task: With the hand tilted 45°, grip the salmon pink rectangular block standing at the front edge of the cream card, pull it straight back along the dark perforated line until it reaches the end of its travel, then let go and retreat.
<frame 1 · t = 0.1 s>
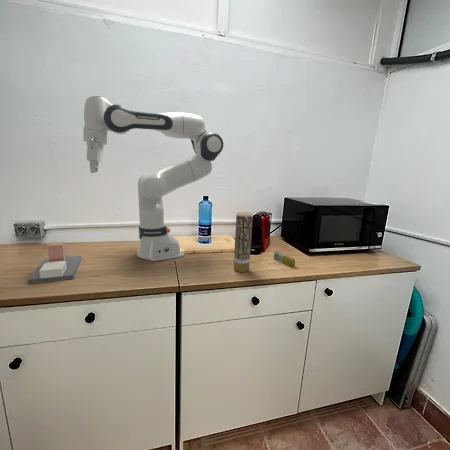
hand: (94, 172, 112), 39 cm above the worktop, tool pointing down, fingers open, 8 cm apart
paper tube: (241, 269, 116), on the worktop
salmon pink rectangular block: (57, 254, 107), point 6 cm above the worktop, slide at 0.0 cm
medication box: (283, 263, 126), on the worktop
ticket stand: (57, 271, 106), on the worktop
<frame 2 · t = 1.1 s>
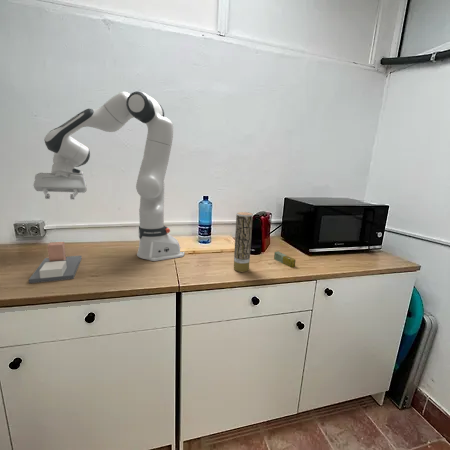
hand: (59, 198, 116), 27 cm above the worktop, tool tilted 45°, fingers open, 8 cm apart
nothing on the worktop moved.
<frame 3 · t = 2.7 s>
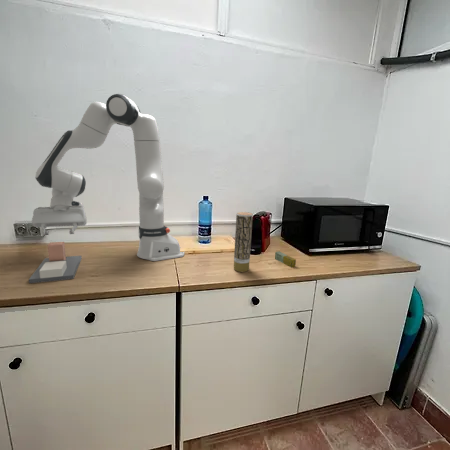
hand: (58, 234, 112), 13 cm above the worktop, tool tilted 45°, fingers open, 8 cm apart
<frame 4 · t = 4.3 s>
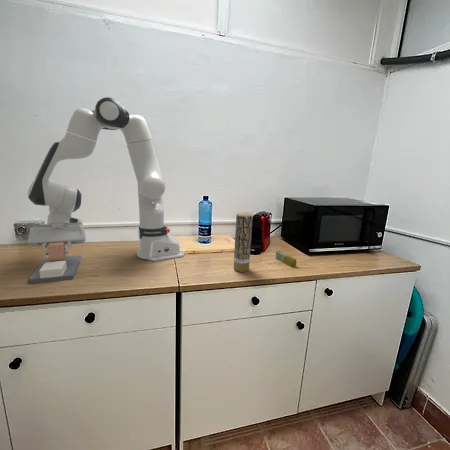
hand: (56, 253, 106), 7 cm above the worktop, tool tilted 45°, fingers closed on salmon pink rectangular block, 5 cm apart
salmon pink rectangular block: (57, 254, 107), point 6 cm above the worktop, slide at 0.0 cm, touching gripper
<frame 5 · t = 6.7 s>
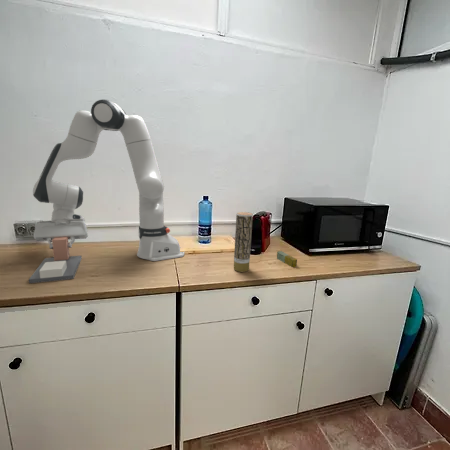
hand: (60, 247, 113), 7 cm above the worktop, tool tilted 45°, fingers closed on salmon pink rectangular block, 5 cm apart
salmon pink rectangular block: (61, 248, 113), point 6 cm above the worktop, slide at 7.4 cm, touching gripper
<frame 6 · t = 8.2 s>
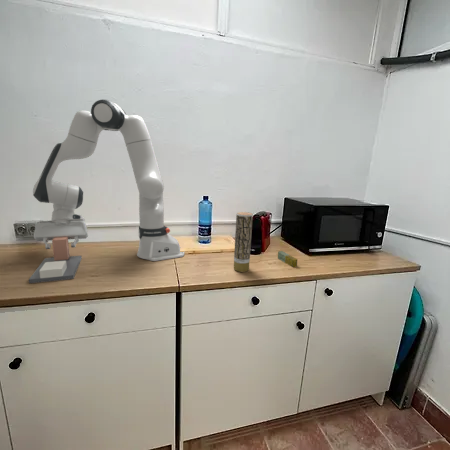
hand: (60, 247, 113), 7 cm above the worktop, tool tilted 45°, fingers open, 8 cm apart
salmon pink rectangular block: (61, 248, 113), point 6 cm above the worktop, slide at 7.4 cm
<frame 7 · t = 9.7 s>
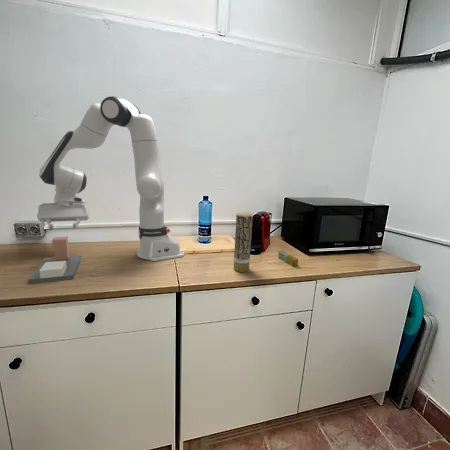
hand: (63, 228, 118), 13 cm above the worktop, tool tilted 45°, fingers open, 8 cm apart
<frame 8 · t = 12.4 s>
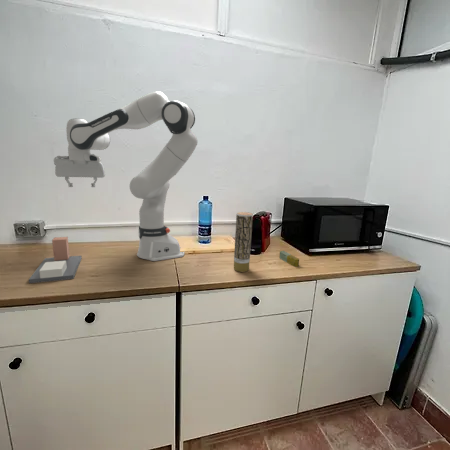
hand: (82, 187, 124), 31 cm above the worktop, tool pointing down, fingers open, 8 cm apart
at the end: salmon pink rectangular block slide at 7.4 cm; the gripper is holding nothing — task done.
